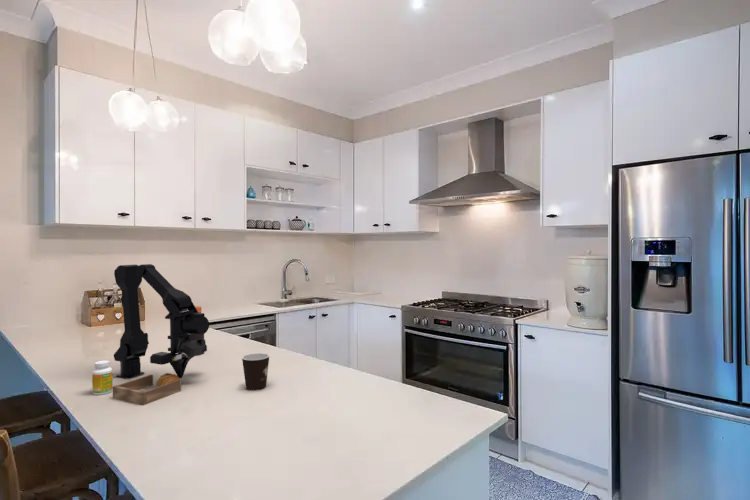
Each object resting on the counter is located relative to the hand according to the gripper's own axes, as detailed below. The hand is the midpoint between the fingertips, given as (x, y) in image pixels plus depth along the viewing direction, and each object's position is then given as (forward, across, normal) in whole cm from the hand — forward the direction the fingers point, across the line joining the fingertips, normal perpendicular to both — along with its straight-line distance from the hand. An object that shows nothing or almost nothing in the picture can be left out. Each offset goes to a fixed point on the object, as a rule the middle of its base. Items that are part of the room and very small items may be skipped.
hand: (180, 377), depth 143 cm
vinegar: (+2, +29, +25) cm, 39 cm away
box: (+2, -12, 0) cm, 12 cm away
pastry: (+2, -4, 0) cm, 5 cm away
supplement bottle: (+2, -17, +15) cm, 23 cm away
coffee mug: (+2, +8, -27) cm, 28 cm away
